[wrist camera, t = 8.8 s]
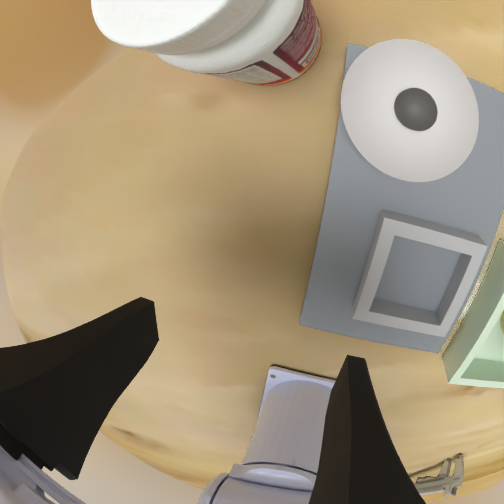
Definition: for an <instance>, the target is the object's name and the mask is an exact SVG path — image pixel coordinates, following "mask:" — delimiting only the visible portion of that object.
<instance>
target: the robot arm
mask: <svg viewBox="0 0 504 504" xmlns="http://www.w3.org/2000/svg"><path fill="white" fill-rule="evenodd" d="M158 341H159V337H158V330H157V322H156V315H155V307H154V301H151V300H148V299H145V298H142V297H140V298H138V299H135V300H133V301H131V302H129V303H127V304H125V305H123V306H121V307H119V308H117V309H115V310H113V311H111V312H109V313H107V314H105V315H103V316H101V317H98V318H96V319H94V320H92V321H90V322H88V323H85V324H83V325H81V326H79V327H76V328H74V329H72V330H69V331H67V332H64V333H61V334H59V335H56V336H53V337H50V338H47V339H43V340H39V341H35V342H31V343H27V344H23V345H18V346H12V347H5V348H0V504H55V503H53V502H52V501H50V500H49V499H47V498H46V497H45V496H44V491H45V492H46V493H47V494H49V495H50V496H51V497H52V498H54V499H55V500H56V501H57V502H59V503H60V504H86V503H84V502H83V501H81V500H80V499H78V498H77V497H75V496H74V495H73V494H71V493H70V492H68V491H67V490H66V489H64V488H63V487H62V486H61V485H59V484H58V483H57V482H55V481H54V480H53V479H52V478H50V477H49V476H48V475H47V474H46V473H44V472H43V471H42V470H41V469H42V468H43V466H45V467H46V468H47V469H49V470H50V471H52V470H53V469H54V468H55V469H56V470H57V471H59V472H60V473H61V474H63V475H64V476H65V477H67V478H68V479H70V480H75V479H78V477H79V474H80V471H81V468H82V466H83V463H84V461H85V458H86V456H87V454H88V451H89V449H90V447H91V445H92V443H93V441H94V438H95V437H96V435H97V433H98V431H99V429H100V427H101V425H102V423H103V422H104V420H105V418H106V416H107V415H108V413H109V411H110V410H111V408H112V406H113V405H114V403H115V402H116V401H117V399H118V398H119V397H120V395H121V394H122V393H123V391H124V390H125V389H126V388H127V386H128V385H129V384H130V382H131V381H132V380H133V379H134V377H135V376H136V375H137V373H138V372H139V371H140V369H141V368H142V367H143V366H144V364H145V363H146V362H147V360H148V358H149V357H150V355H151V353H152V352H153V350H154V348H155V346H156V345H157V343H158ZM197 504H426V503H425V501H424V500H423V499H422V497H421V495H420V494H419V492H418V490H417V489H416V487H415V485H414V484H413V482H412V480H411V479H410V477H409V476H408V474H407V472H406V470H405V468H404V466H403V464H402V462H401V460H400V458H399V456H398V454H397V452H396V450H395V447H394V445H393V443H392V440H391V438H390V435H389V433H388V430H387V428H386V425H385V423H384V420H383V417H382V414H381V411H380V408H379V405H378V402H377V399H376V396H375V393H374V389H373V386H372V383H371V379H370V375H369V372H368V368H367V364H366V361H365V359H364V358H360V357H355V356H350V355H347V357H346V359H345V361H344V364H343V366H342V368H341V370H340V373H339V375H338V377H337V379H336V380H331V379H326V378H322V377H317V376H313V375H309V374H304V373H300V372H296V371H292V370H288V369H284V368H280V367H276V366H271V367H270V368H269V371H268V376H267V380H266V385H265V389H264V394H263V399H262V403H261V407H260V412H259V416H258V422H257V425H256V428H255V430H254V433H253V436H252V438H251V441H250V443H249V446H248V449H247V451H246V454H245V456H244V459H243V461H242V464H241V465H238V464H234V465H233V467H232V469H231V472H230V473H221V474H219V475H218V476H217V477H215V478H213V479H212V480H211V481H210V482H209V483H208V484H207V485H206V487H205V488H204V490H203V492H202V493H201V495H200V498H199V501H198V503H197Z"/></svg>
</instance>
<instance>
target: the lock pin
mask: <svg viewBox="0 0 504 504" xmlns="http://www.w3.org/2000/svg"><path fill="white" fill-rule="evenodd" d="M500 327H501V330H502V332H503V334H504V310H503V312H502V315H501V318H500Z"/></svg>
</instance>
